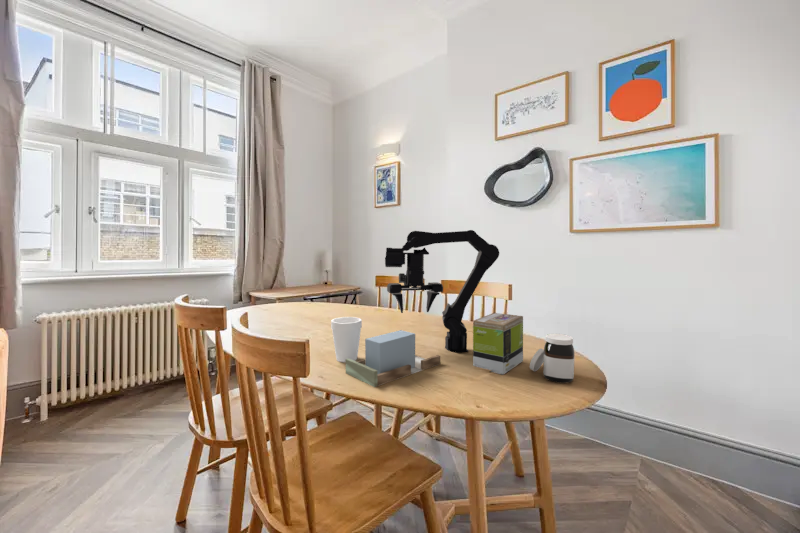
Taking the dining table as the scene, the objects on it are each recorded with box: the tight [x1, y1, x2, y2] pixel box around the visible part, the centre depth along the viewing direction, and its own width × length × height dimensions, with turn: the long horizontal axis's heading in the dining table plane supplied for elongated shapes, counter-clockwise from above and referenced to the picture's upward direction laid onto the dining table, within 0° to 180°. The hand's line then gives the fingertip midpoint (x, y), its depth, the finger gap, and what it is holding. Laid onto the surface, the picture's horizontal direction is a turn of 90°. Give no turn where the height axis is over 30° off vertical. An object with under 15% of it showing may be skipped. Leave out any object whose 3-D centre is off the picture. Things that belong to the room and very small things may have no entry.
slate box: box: [364, 329, 416, 374], centre depth 102 cm, size 14×6×10 cm, turn 135°
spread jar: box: [529, 333, 575, 384], centre depth 99 cm, size 12×11×12 cm
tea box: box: [472, 312, 524, 375], centre depth 108 cm, size 15×10×15 cm, turn 140°
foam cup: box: [330, 316, 363, 363], centre depth 112 cm, size 10×9×13 cm
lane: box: [345, 354, 442, 388], centre depth 104 cm, size 26×25×5 cm
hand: (414, 312), depth 123 cm, fingers open, 9 cm apart
